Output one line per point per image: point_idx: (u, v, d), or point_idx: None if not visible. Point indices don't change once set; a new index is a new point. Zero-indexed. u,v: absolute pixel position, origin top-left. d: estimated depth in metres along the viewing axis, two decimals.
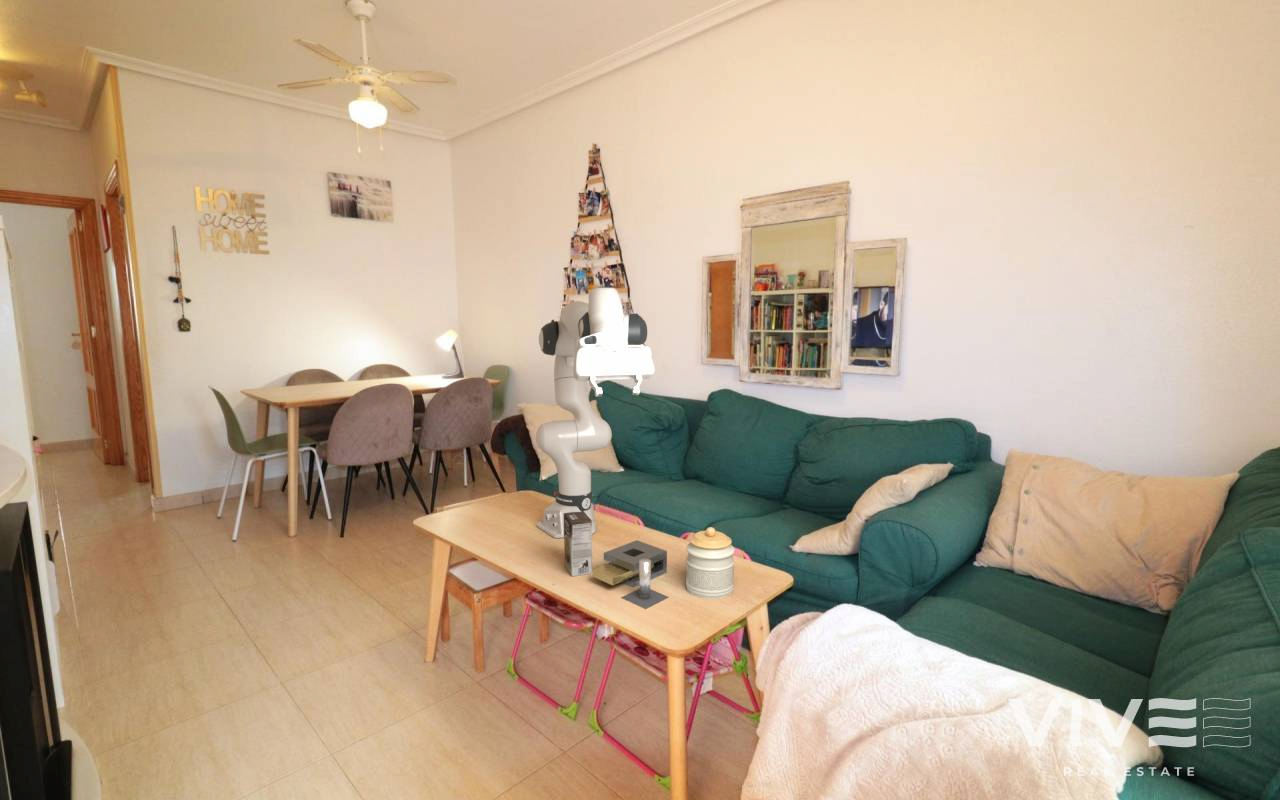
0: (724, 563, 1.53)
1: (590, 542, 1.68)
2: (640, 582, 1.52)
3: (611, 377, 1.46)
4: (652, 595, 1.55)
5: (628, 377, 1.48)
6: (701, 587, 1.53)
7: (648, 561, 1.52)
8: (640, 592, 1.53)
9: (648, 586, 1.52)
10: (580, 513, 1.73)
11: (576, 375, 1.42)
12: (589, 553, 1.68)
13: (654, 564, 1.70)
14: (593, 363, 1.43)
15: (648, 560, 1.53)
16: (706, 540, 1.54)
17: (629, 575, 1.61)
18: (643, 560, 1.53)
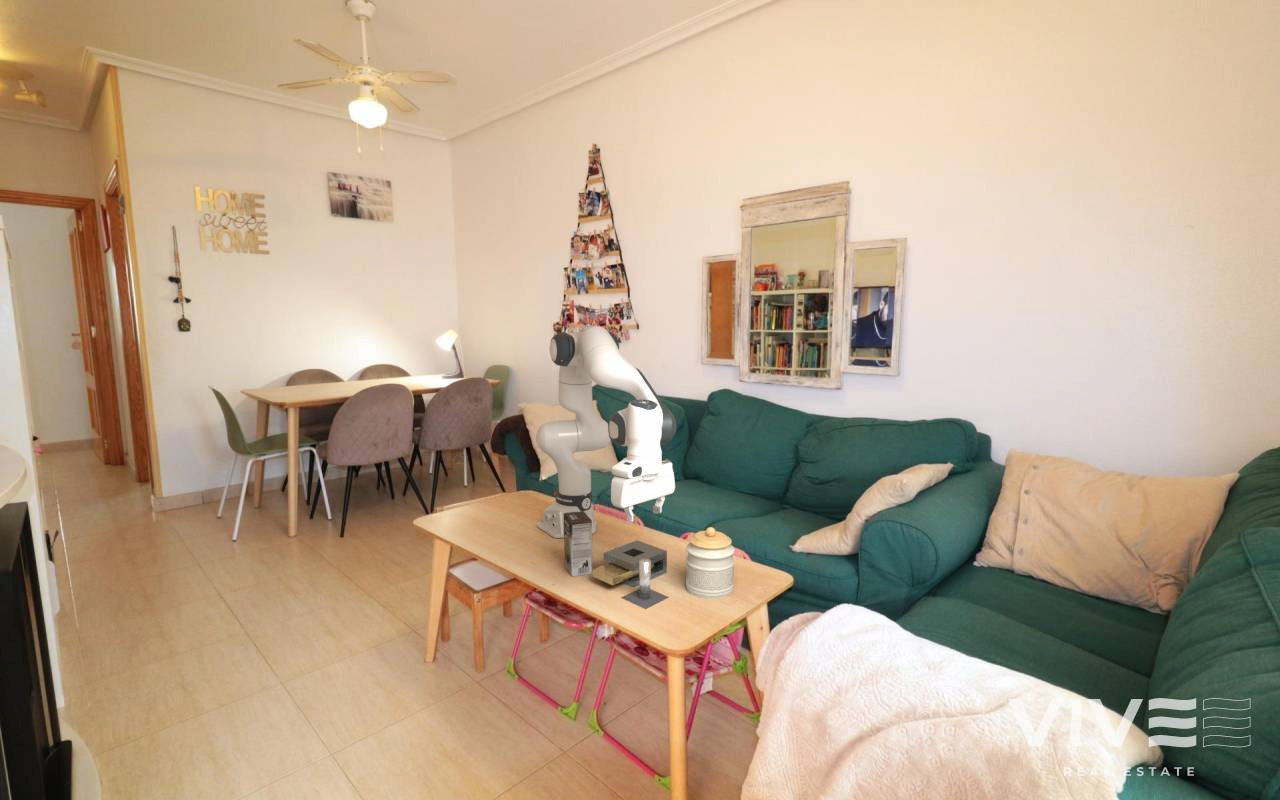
0: (724, 563, 1.53)
1: (590, 542, 1.68)
2: (640, 582, 1.52)
3: None
4: (652, 595, 1.55)
5: None
6: (701, 587, 1.53)
7: (648, 561, 1.52)
8: (640, 592, 1.53)
9: (648, 586, 1.52)
10: (580, 513, 1.73)
11: (618, 506, 1.43)
12: (589, 553, 1.68)
13: (654, 564, 1.70)
14: (633, 493, 1.44)
15: (648, 560, 1.53)
16: (706, 540, 1.54)
17: (629, 575, 1.61)
18: (643, 560, 1.53)
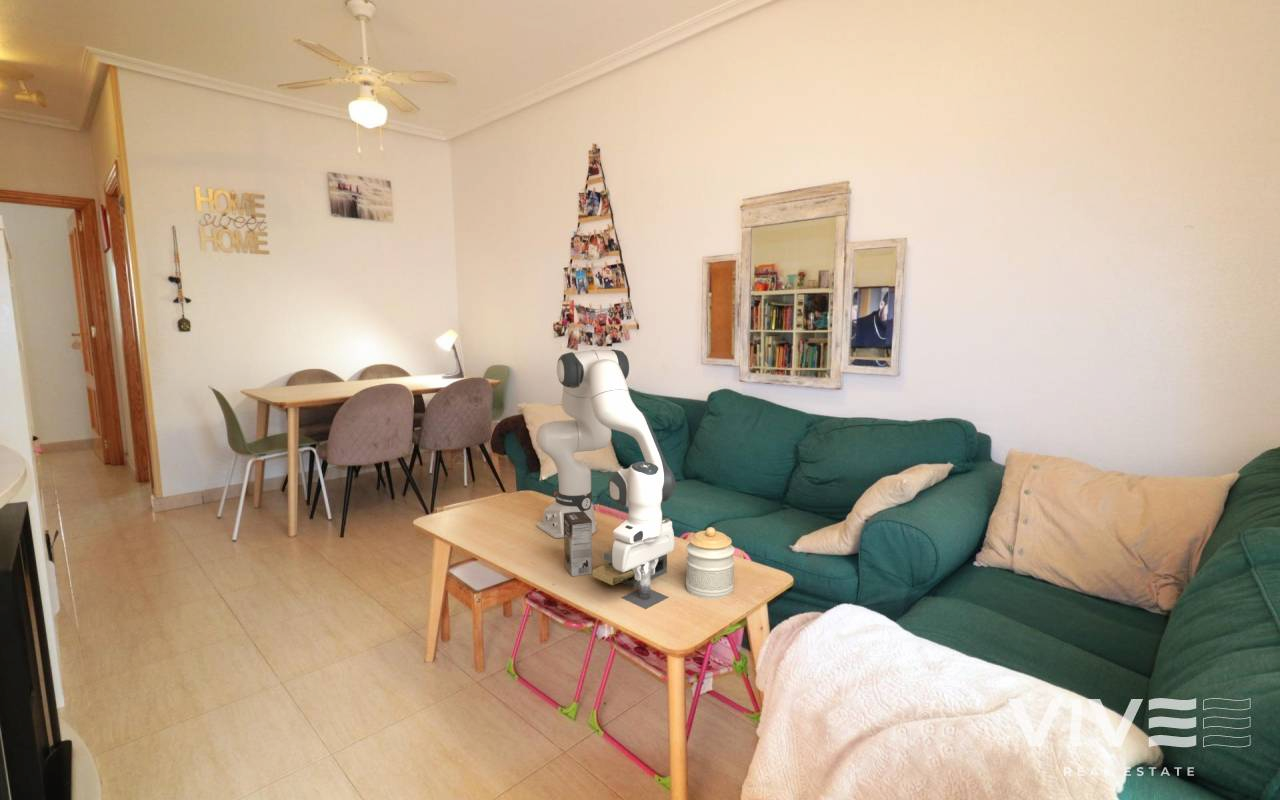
0: (724, 563, 1.53)
1: (590, 542, 1.68)
2: (640, 582, 1.52)
3: None
4: (652, 595, 1.55)
5: None
6: (701, 587, 1.53)
7: None
8: (640, 592, 1.53)
9: (648, 586, 1.52)
10: (580, 513, 1.73)
11: (619, 570, 1.45)
12: (589, 553, 1.68)
13: None
14: (634, 556, 1.47)
15: None
16: (706, 540, 1.54)
17: (629, 575, 1.61)
18: None
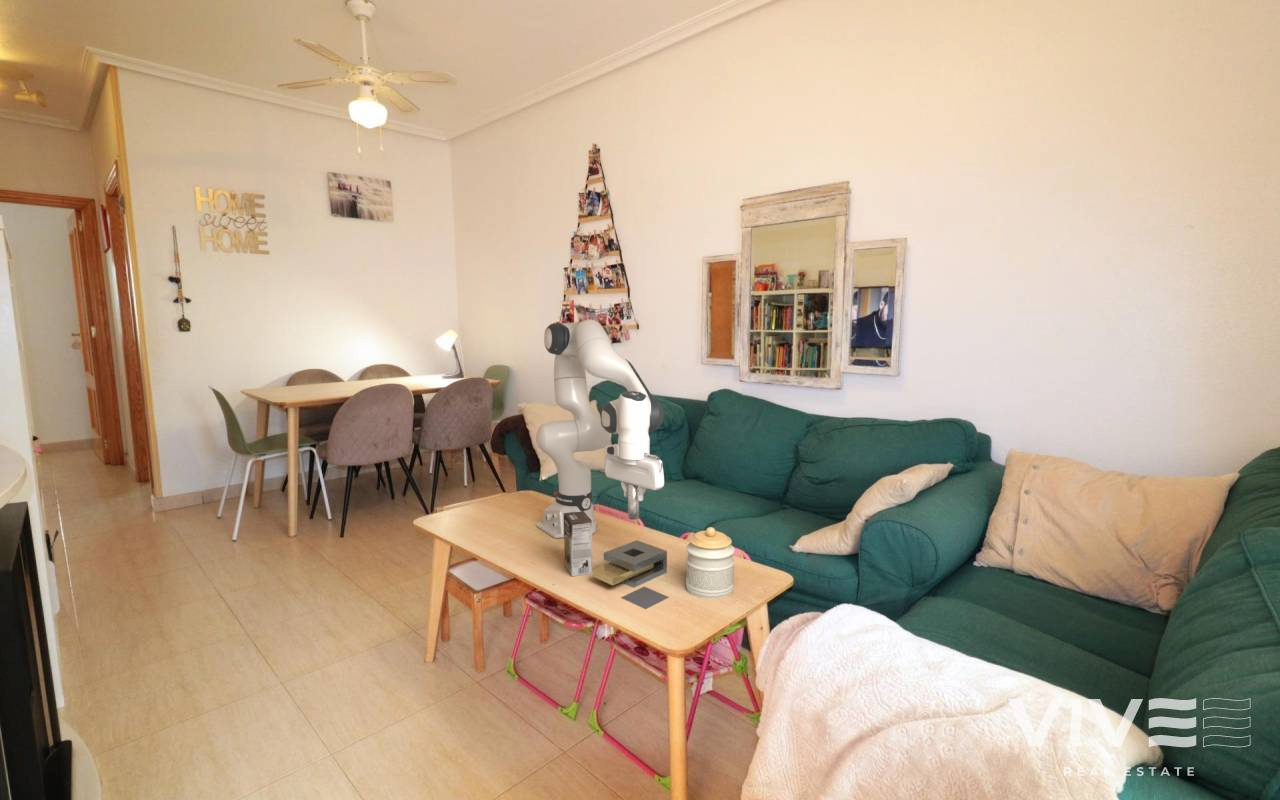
0: (724, 563, 1.53)
1: (590, 542, 1.68)
2: None
3: None
4: (652, 595, 1.55)
5: None
6: (701, 587, 1.53)
7: (632, 484, 1.63)
8: None
9: (629, 506, 1.64)
10: (580, 513, 1.73)
11: None
12: (589, 553, 1.68)
13: (654, 564, 1.70)
14: (615, 469, 1.66)
15: None
16: (706, 540, 1.54)
17: (629, 575, 1.61)
18: None
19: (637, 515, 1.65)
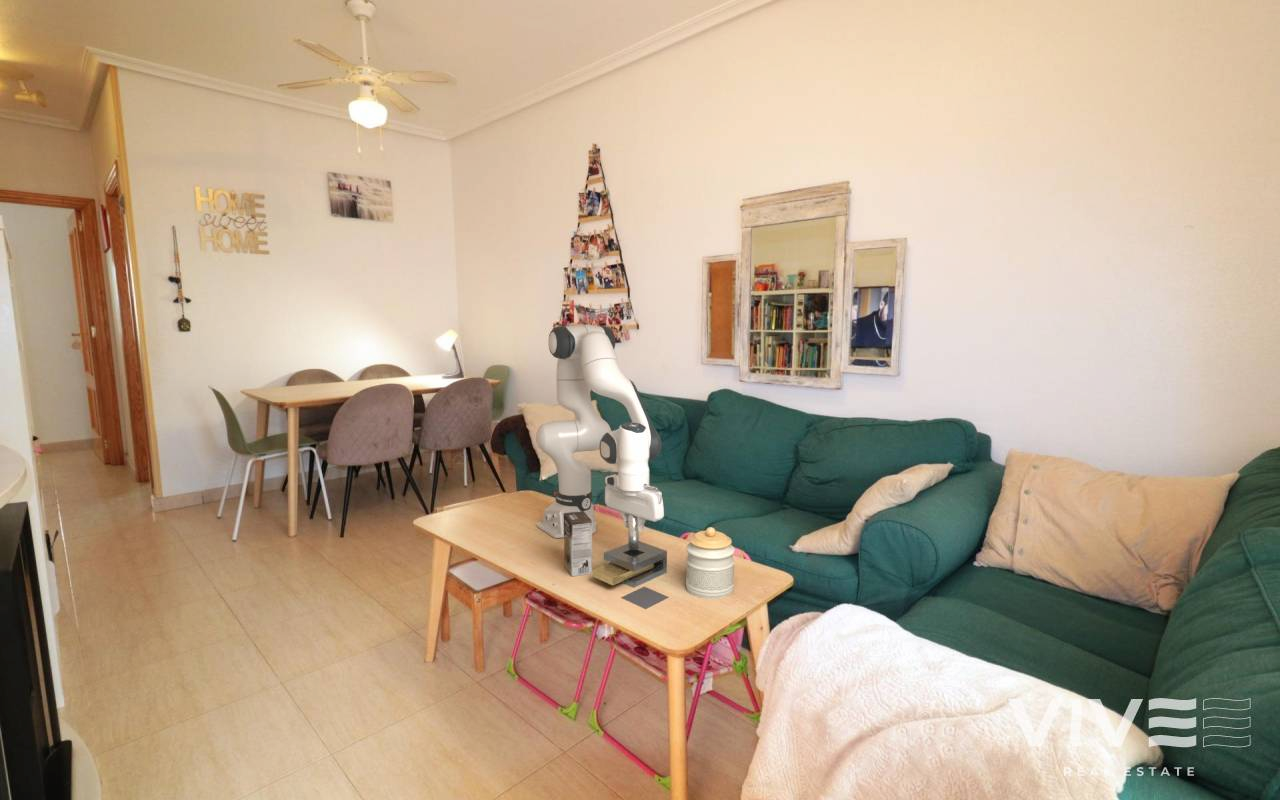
0: (724, 563, 1.53)
1: (590, 542, 1.68)
2: None
3: None
4: (652, 595, 1.55)
5: None
6: (701, 587, 1.53)
7: None
8: None
9: (629, 537, 1.65)
10: (580, 513, 1.73)
11: None
12: (589, 553, 1.68)
13: (654, 564, 1.70)
14: (615, 499, 1.68)
15: None
16: (706, 540, 1.54)
17: (629, 575, 1.61)
18: None
19: (637, 545, 1.66)
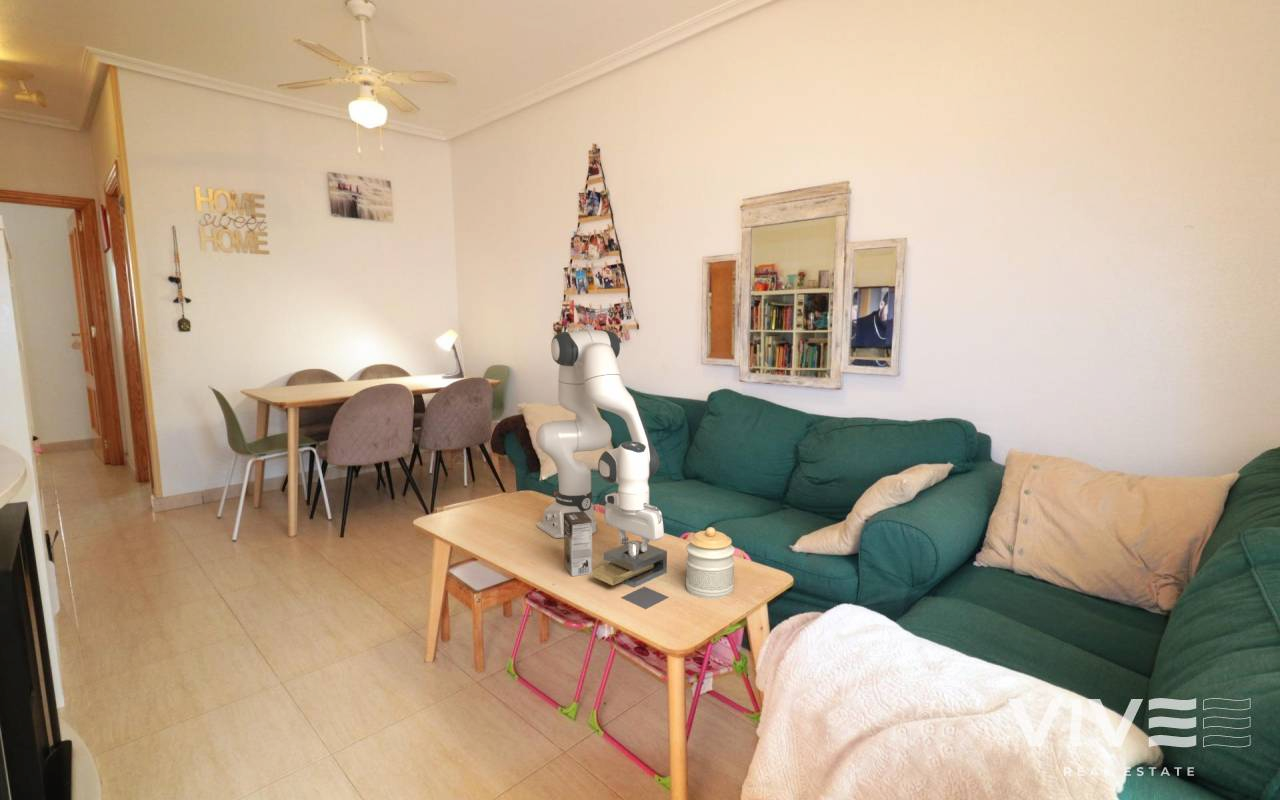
0: (724, 563, 1.53)
1: (590, 542, 1.68)
2: None
3: None
4: (652, 595, 1.55)
5: None
6: (701, 587, 1.53)
7: (632, 543, 1.66)
8: None
9: None
10: (580, 513, 1.73)
11: None
12: (589, 553, 1.68)
13: (654, 564, 1.70)
14: (615, 517, 1.68)
15: (634, 543, 1.66)
16: (706, 540, 1.54)
17: (629, 575, 1.61)
18: (634, 542, 1.67)
19: None
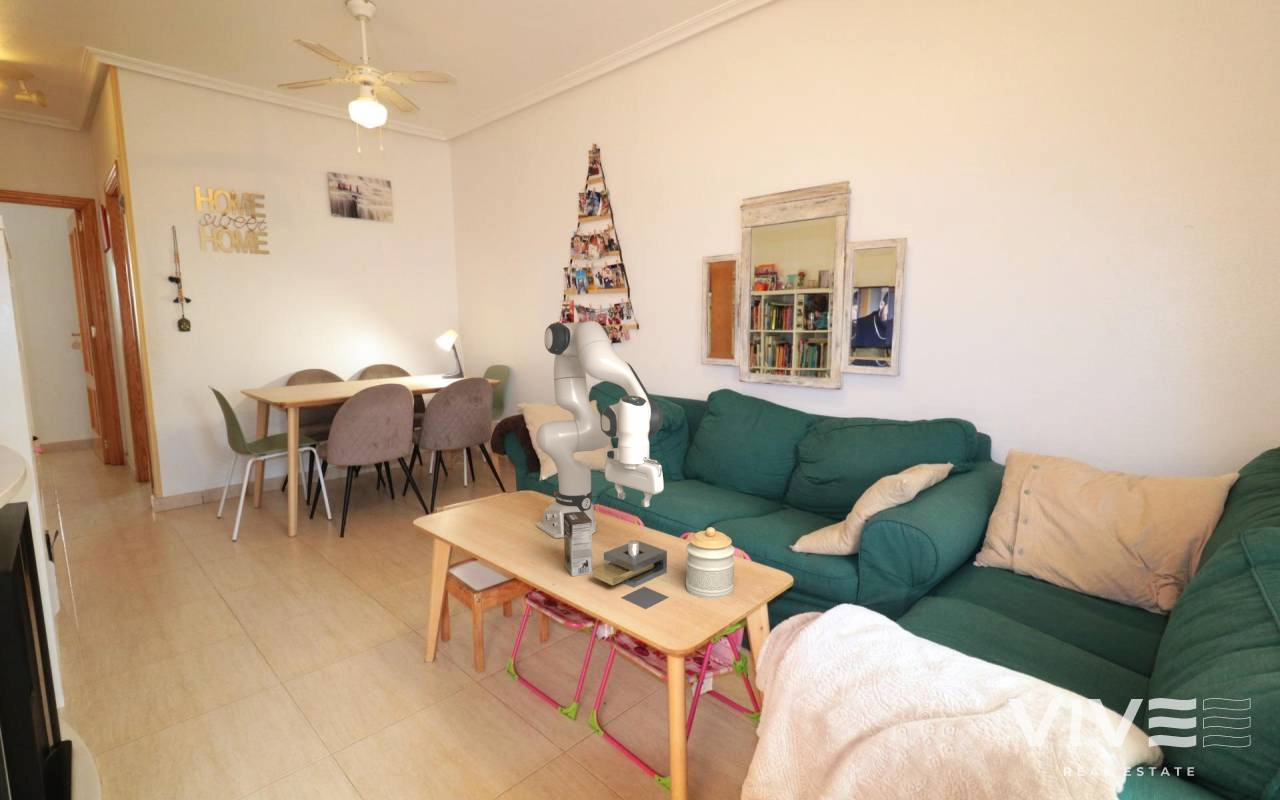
0: (724, 563, 1.53)
1: (590, 542, 1.68)
2: None
3: None
4: (652, 595, 1.55)
5: None
6: (701, 587, 1.53)
7: (632, 543, 1.66)
8: None
9: None
10: (580, 513, 1.73)
11: None
12: (589, 553, 1.68)
13: (654, 564, 1.70)
14: (615, 472, 1.68)
15: (634, 543, 1.66)
16: (706, 540, 1.54)
17: (629, 575, 1.61)
18: (634, 542, 1.67)
19: None
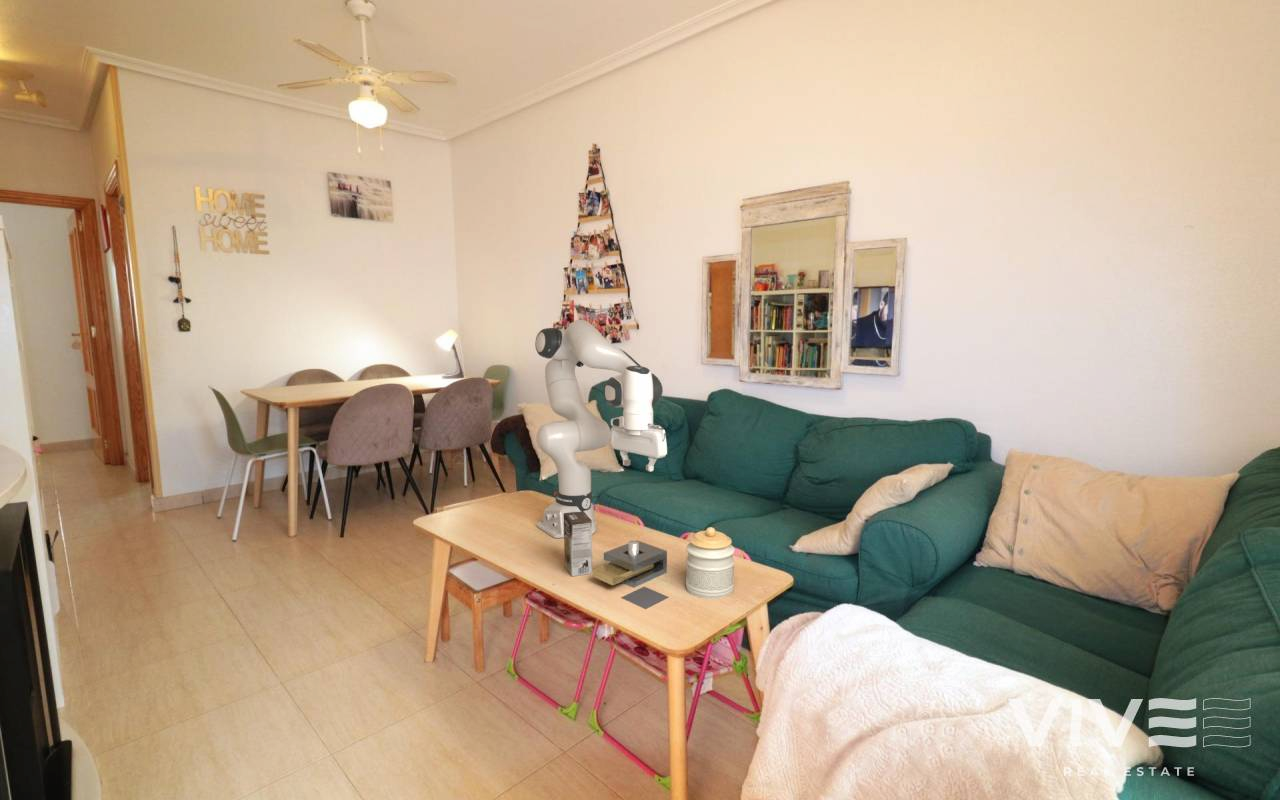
0: (724, 563, 1.53)
1: (590, 542, 1.68)
2: None
3: None
4: (652, 595, 1.55)
5: None
6: (701, 587, 1.53)
7: (632, 543, 1.66)
8: None
9: None
10: (580, 513, 1.73)
11: None
12: (589, 553, 1.68)
13: (654, 564, 1.70)
14: (620, 440, 1.75)
15: (634, 543, 1.66)
16: (706, 540, 1.54)
17: (629, 575, 1.61)
18: (634, 542, 1.67)
19: None
